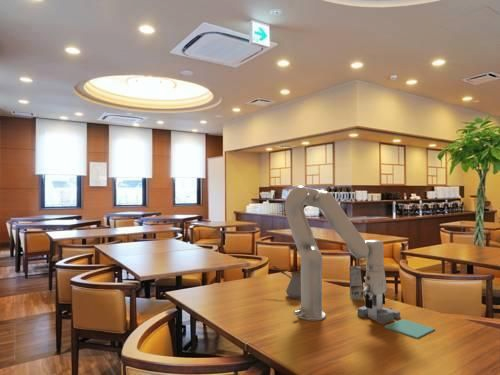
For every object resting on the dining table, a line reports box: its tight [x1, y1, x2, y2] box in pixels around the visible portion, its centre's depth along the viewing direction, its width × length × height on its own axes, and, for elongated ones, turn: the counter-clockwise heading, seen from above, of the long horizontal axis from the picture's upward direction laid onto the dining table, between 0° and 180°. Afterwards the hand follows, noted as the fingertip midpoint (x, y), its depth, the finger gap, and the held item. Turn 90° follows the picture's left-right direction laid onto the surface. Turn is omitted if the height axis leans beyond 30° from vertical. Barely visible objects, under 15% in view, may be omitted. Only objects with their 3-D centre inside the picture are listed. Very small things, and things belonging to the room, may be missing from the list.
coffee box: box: [349, 265, 364, 301], centre depth 190 cm, size 9×6×16 cm
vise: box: [357, 305, 401, 325], centre depth 162 cm, size 16×13×4 cm
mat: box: [383, 318, 436, 340], centre depth 147 cm, size 14×14×1 cm
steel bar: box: [367, 293, 384, 321], centre depth 159 cm, size 4×4×12 cm
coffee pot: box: [271, 265, 301, 300], centre depth 194 cm, size 21×12×15 cm, turn 55°
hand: (375, 305), depth 159 cm, fingers open, 9 cm apart
